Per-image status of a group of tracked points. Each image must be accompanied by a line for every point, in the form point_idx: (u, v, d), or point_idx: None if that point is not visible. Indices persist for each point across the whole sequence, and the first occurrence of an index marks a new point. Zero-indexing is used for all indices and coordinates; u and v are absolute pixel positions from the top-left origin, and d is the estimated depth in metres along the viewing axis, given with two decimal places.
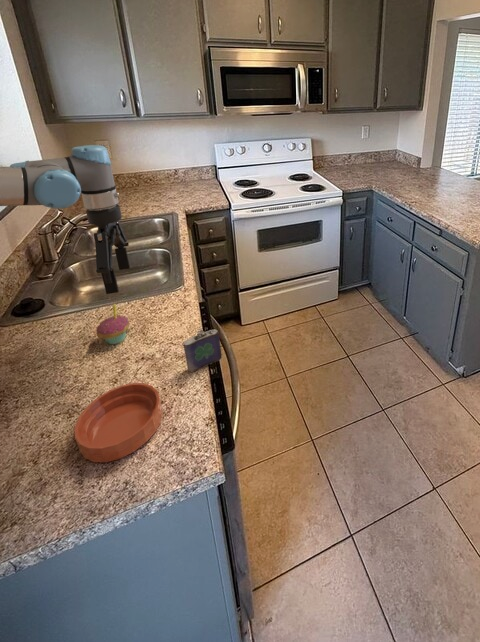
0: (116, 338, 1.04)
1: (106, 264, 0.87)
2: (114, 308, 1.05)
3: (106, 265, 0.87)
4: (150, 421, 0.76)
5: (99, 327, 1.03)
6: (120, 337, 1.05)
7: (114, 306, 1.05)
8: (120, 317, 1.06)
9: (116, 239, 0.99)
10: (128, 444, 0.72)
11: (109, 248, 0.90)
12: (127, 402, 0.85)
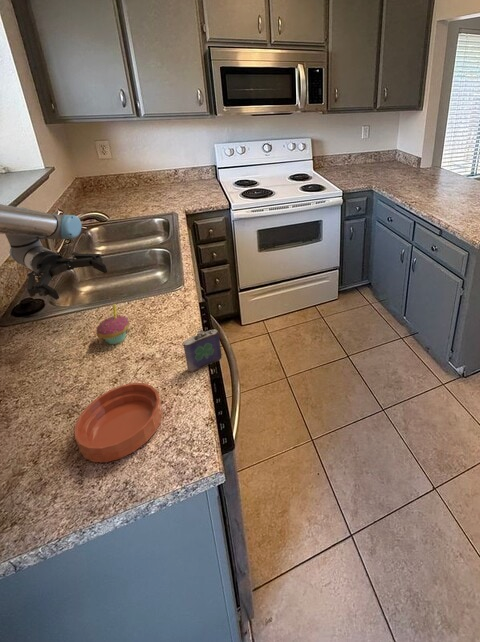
0: (116, 338, 1.04)
1: None
2: (114, 308, 1.05)
3: None
4: (150, 421, 0.76)
5: (99, 327, 1.03)
6: (120, 337, 1.05)
7: (114, 306, 1.05)
8: (120, 317, 1.06)
9: (47, 280, 1.04)
10: (128, 444, 0.72)
11: None
12: (127, 402, 0.85)
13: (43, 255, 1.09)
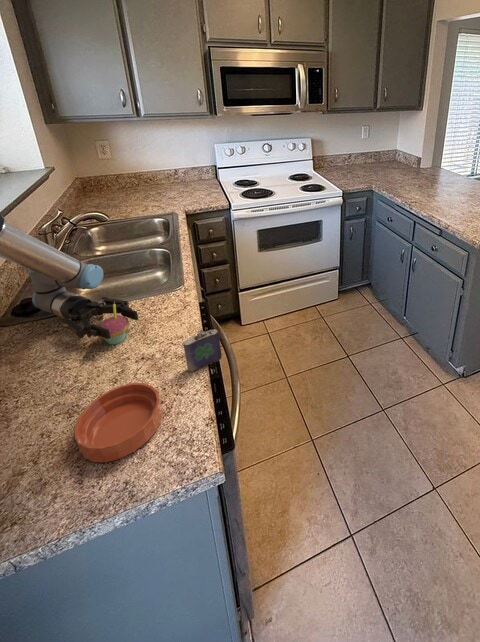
0: (116, 338, 1.04)
1: None
2: (114, 308, 1.05)
3: None
4: (150, 421, 0.76)
5: None
6: (120, 337, 1.05)
7: (114, 306, 1.04)
8: (120, 317, 1.06)
9: None
10: (128, 444, 0.72)
11: None
12: (127, 402, 0.85)
13: (74, 300, 1.09)
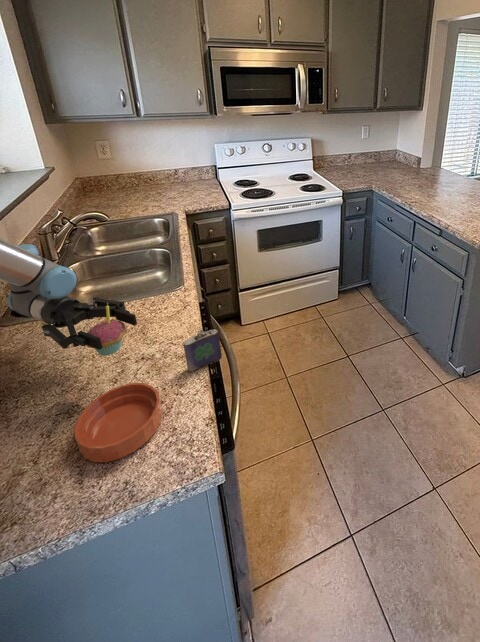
0: (109, 348, 0.84)
1: None
2: (107, 311, 0.85)
3: None
4: (150, 421, 0.76)
5: None
6: (114, 347, 0.85)
7: (107, 308, 0.84)
8: (114, 322, 0.86)
9: None
10: (128, 444, 0.72)
11: None
12: (127, 402, 0.85)
13: (58, 301, 0.89)
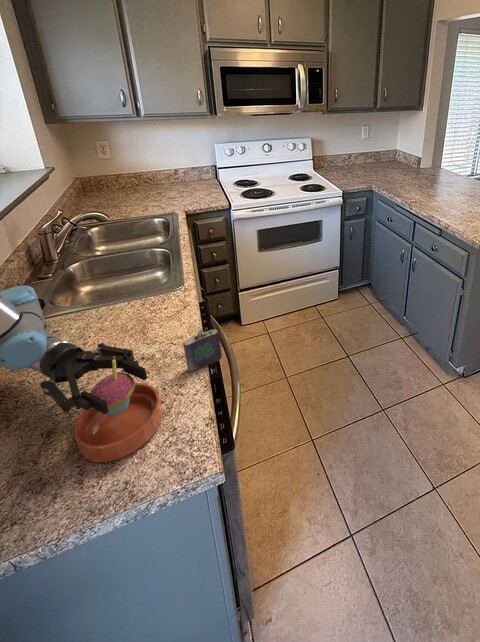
0: (116, 408, 0.74)
1: None
2: (113, 365, 0.75)
3: None
4: (150, 421, 0.76)
5: (92, 394, 0.73)
6: (122, 406, 0.75)
7: (113, 363, 0.75)
8: (122, 377, 0.76)
9: (77, 385, 0.75)
10: (128, 444, 0.72)
11: None
12: None
13: (59, 351, 0.79)
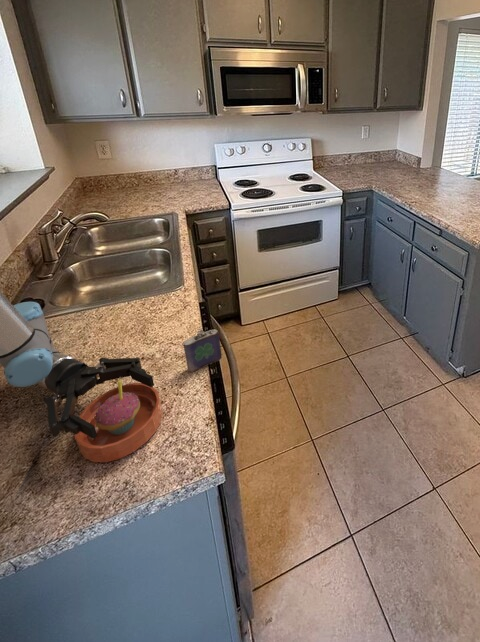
0: (122, 427, 0.76)
1: None
2: (119, 386, 0.77)
3: None
4: (150, 421, 0.76)
5: (99, 414, 0.75)
6: (127, 425, 0.77)
7: (119, 383, 0.77)
8: (127, 396, 0.78)
9: (73, 405, 0.76)
10: (128, 444, 0.72)
11: None
12: None
13: (63, 367, 0.81)
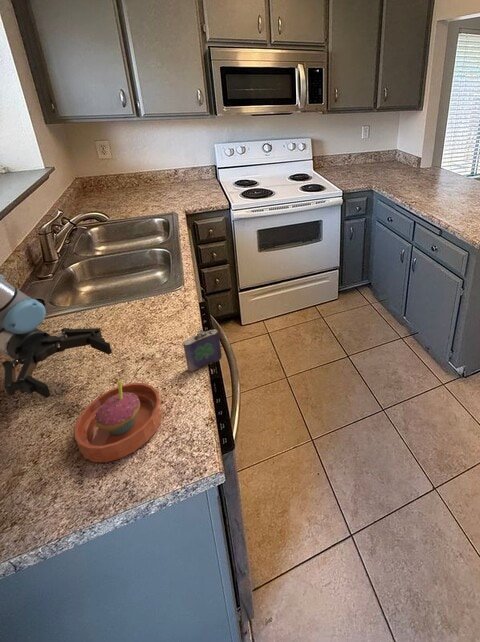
0: (122, 427, 0.76)
1: None
2: (119, 386, 0.77)
3: None
4: (150, 421, 0.76)
5: (99, 414, 0.75)
6: (127, 425, 0.77)
7: (119, 383, 0.77)
8: (127, 396, 0.78)
9: (31, 369, 0.79)
10: (128, 444, 0.72)
11: None
12: None
13: (24, 334, 0.84)
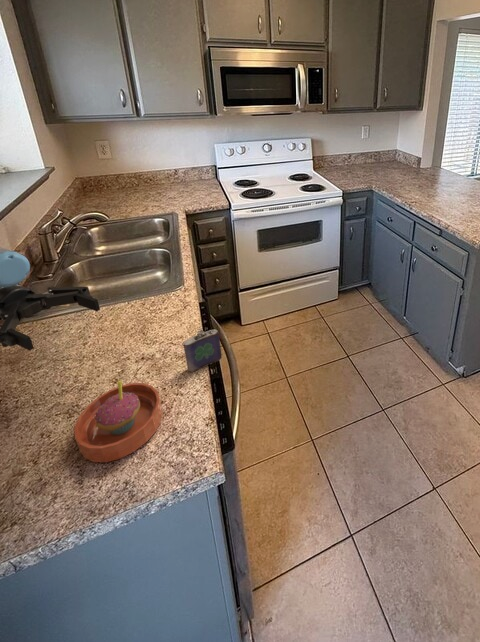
0: (122, 427, 0.76)
1: None
2: (119, 386, 0.77)
3: None
4: (150, 421, 0.76)
5: (99, 414, 0.75)
6: (127, 425, 0.77)
7: (119, 383, 0.77)
8: (127, 396, 0.78)
9: (14, 324, 0.75)
10: (128, 444, 0.72)
11: None
12: None
13: (8, 291, 0.80)
